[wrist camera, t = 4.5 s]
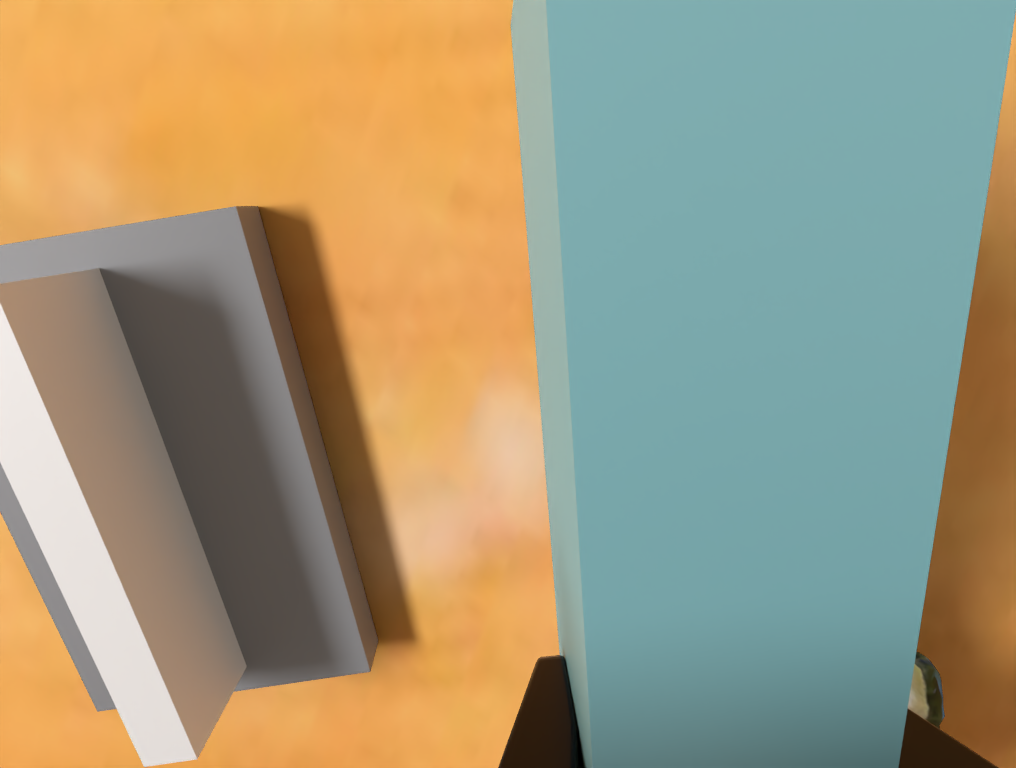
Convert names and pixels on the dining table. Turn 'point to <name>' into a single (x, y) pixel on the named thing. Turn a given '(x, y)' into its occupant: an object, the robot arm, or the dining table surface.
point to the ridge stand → (172, 473)
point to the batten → (749, 355)
